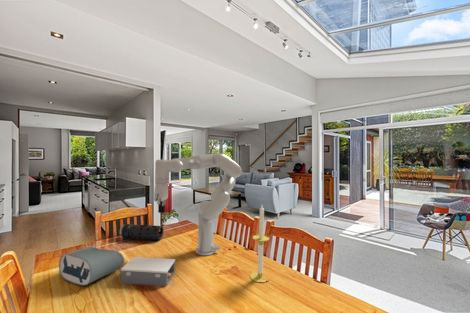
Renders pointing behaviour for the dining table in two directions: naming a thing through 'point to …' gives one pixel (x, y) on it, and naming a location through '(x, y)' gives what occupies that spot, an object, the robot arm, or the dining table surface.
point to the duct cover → (148, 265)
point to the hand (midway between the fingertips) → (161, 212)
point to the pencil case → (89, 264)
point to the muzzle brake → (141, 232)
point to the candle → (260, 248)
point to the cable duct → (147, 277)
